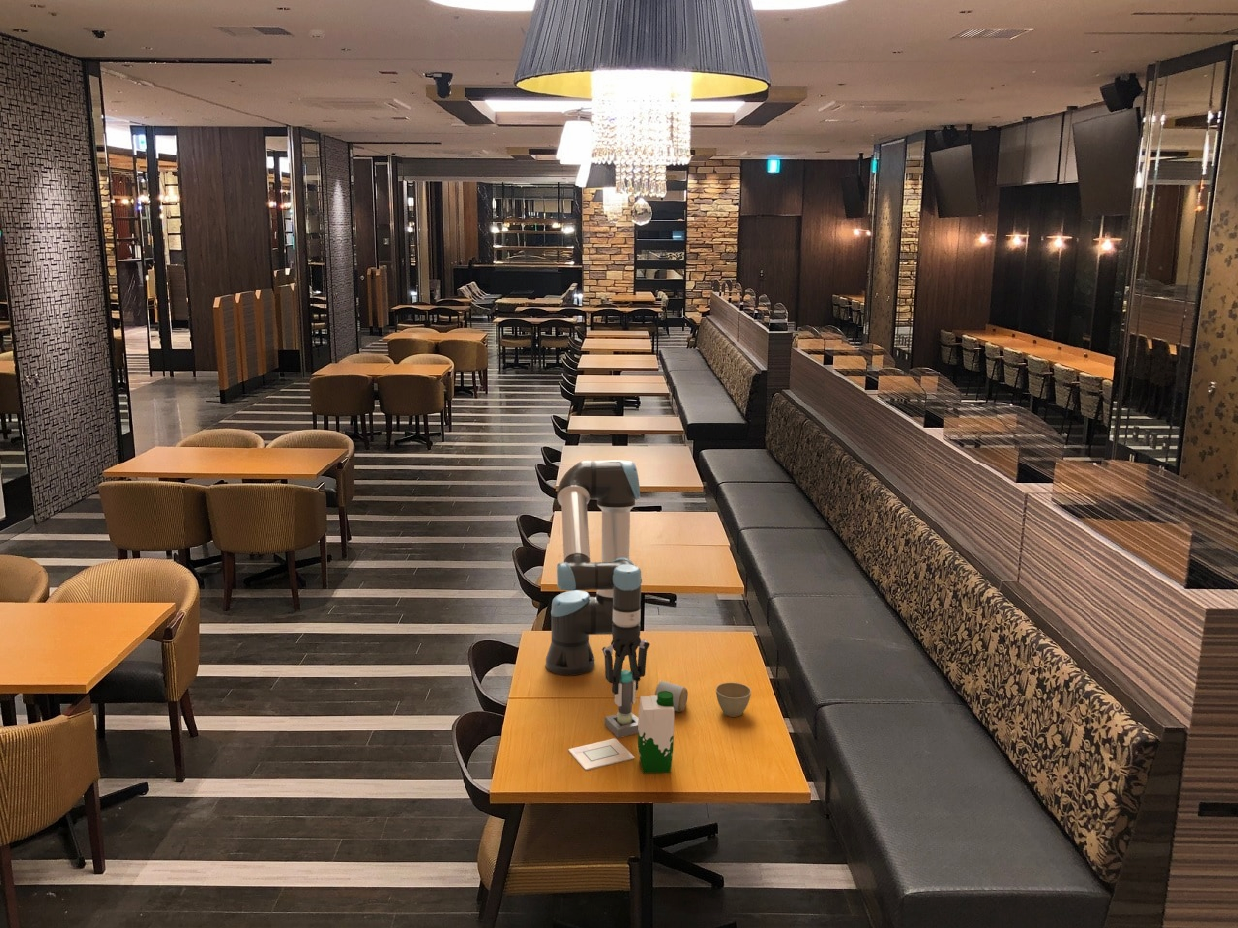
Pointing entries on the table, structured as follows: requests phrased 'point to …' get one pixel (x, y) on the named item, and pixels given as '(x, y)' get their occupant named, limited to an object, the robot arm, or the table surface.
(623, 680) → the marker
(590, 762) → the sheet
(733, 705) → the flower pot
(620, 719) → the button cap
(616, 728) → the button housing
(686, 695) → the ceramic mug
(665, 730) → the milk carton
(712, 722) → the table surface
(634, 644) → the robot arm
